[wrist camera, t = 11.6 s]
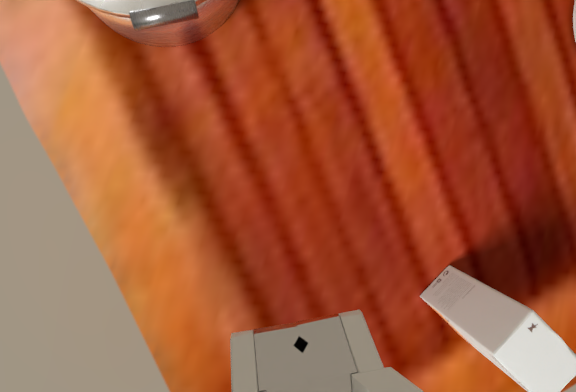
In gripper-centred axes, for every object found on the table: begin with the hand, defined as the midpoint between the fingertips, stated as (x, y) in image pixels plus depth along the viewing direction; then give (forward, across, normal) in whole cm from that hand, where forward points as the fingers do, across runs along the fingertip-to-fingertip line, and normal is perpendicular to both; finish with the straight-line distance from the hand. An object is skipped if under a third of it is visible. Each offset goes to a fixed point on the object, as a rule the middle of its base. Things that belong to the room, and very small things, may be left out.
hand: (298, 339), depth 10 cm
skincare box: (+22, -16, +23) cm, 36 cm away
